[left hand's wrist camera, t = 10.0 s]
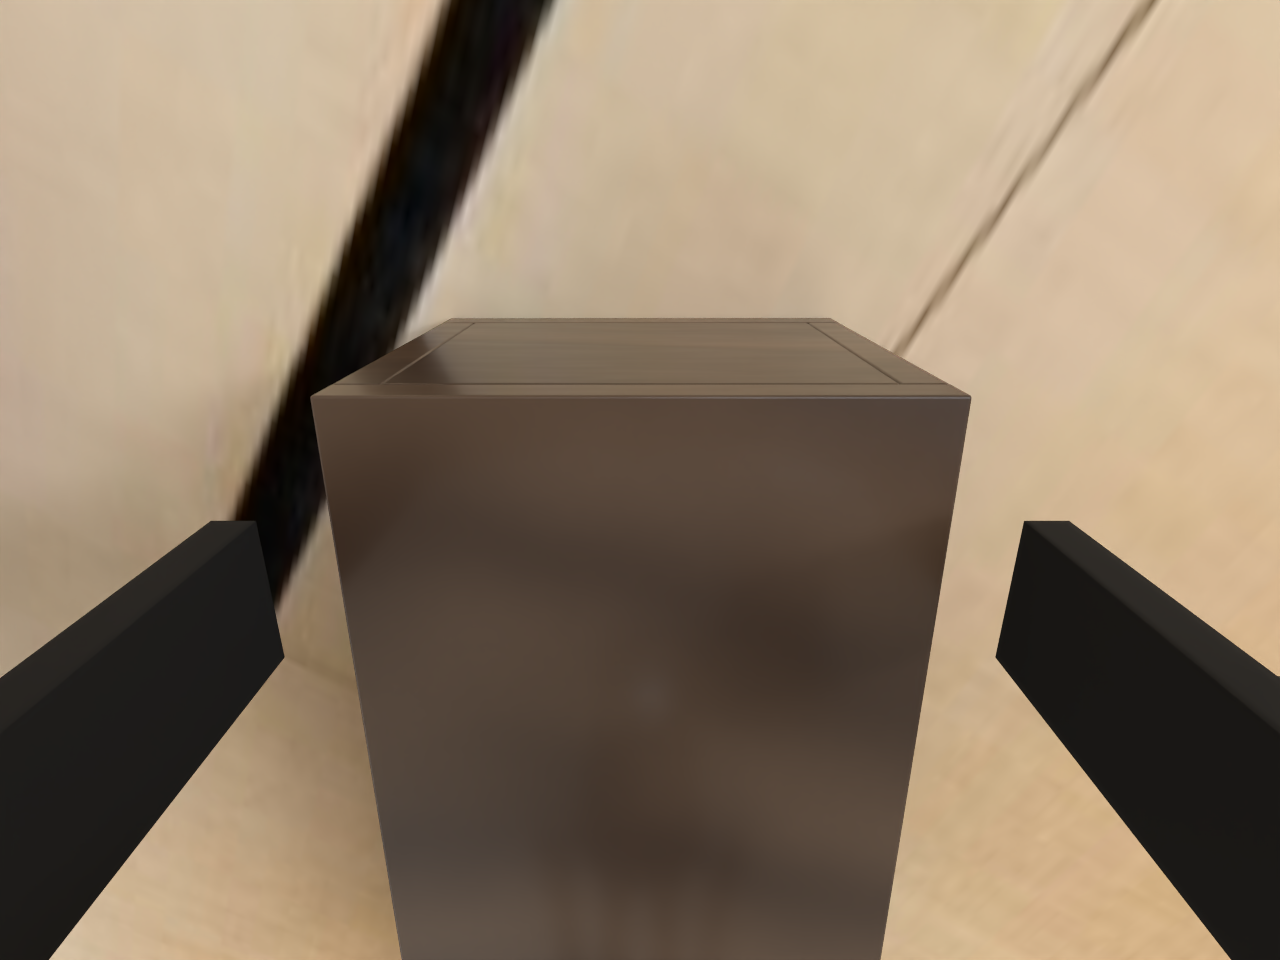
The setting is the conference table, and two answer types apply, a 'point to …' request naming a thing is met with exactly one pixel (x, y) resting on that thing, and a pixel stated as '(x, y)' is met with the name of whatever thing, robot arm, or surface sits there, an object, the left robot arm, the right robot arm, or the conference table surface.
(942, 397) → the cabinet
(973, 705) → the conference table surface
